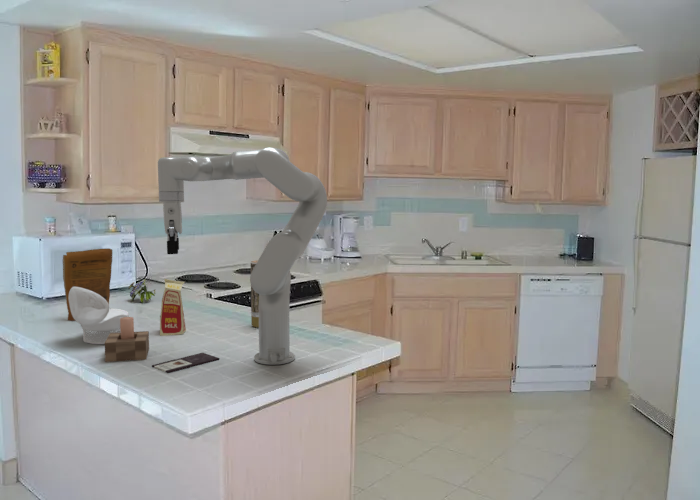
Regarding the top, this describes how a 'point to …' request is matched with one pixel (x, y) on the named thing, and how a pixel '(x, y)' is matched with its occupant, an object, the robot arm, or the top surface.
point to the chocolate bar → (185, 362)
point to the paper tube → (254, 302)
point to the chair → (94, 315)
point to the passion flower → (139, 289)
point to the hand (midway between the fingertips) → (173, 252)
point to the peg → (127, 327)
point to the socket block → (127, 347)
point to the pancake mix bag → (87, 273)
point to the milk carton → (172, 309)
